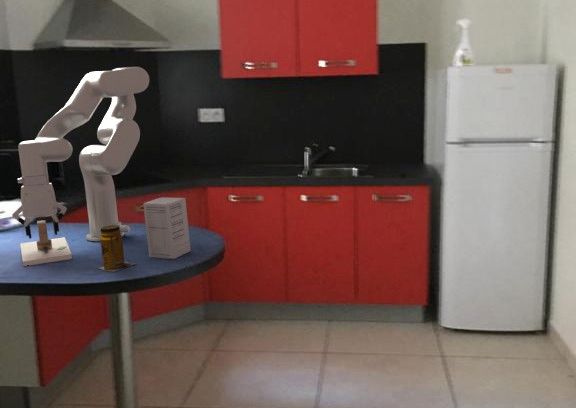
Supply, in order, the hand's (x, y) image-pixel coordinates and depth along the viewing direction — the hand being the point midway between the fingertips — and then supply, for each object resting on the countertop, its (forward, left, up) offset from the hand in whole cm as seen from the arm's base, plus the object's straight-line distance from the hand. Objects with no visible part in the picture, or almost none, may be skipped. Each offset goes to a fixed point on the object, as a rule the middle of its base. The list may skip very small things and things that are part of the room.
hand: (43, 235), depth 209 cm
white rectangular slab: (0, 0, -6) cm, 6 cm away
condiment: (-30, +15, -6) cm, 34 cm away
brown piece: (-1, +2, -4) cm, 4 cm away
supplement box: (-42, +3, -6) cm, 43 cm away
